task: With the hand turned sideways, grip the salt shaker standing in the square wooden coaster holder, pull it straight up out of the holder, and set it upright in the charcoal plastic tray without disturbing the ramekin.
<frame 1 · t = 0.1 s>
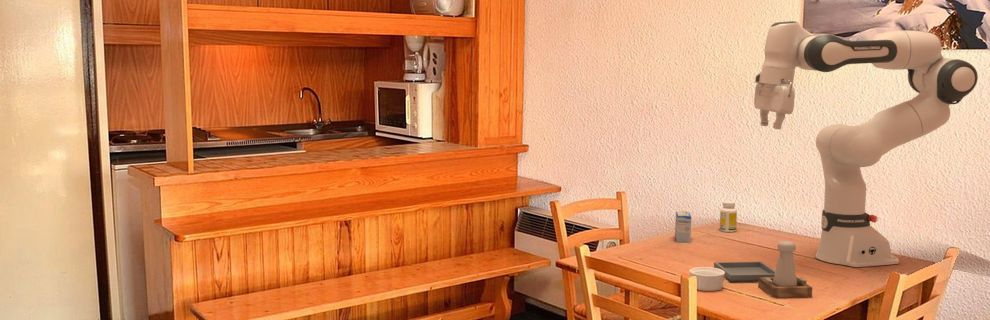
hand: (770, 127, 245), 39 cm above the table, tool pointing down, fingers open, 8 cm apart
square wooden coaster holder: (784, 291, 220), on the table
supplement bottle: (727, 231, 291), on the table
medicine box: (682, 240, 277), on the table
salt shaker: (784, 292, 220), resting in square wooden coaster holder
ramekin: (706, 288, 224), on the table
tray: (746, 275, 235), on the table
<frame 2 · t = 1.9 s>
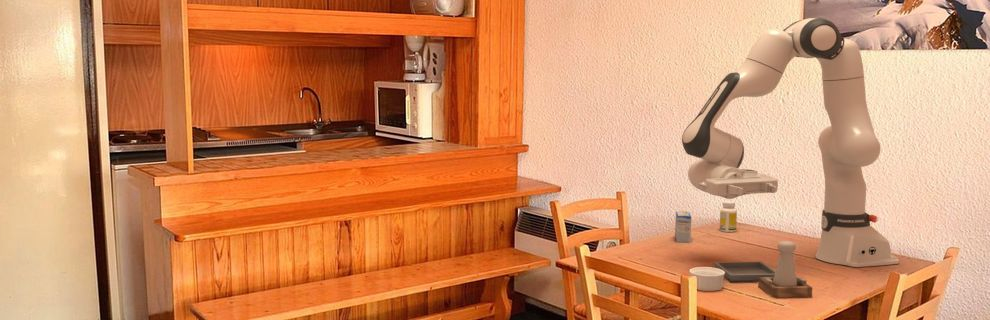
hand: (758, 190, 228), 24 cm above the table, tool horizontal, fingers open, 8 cm apart
nothing on the table moved.
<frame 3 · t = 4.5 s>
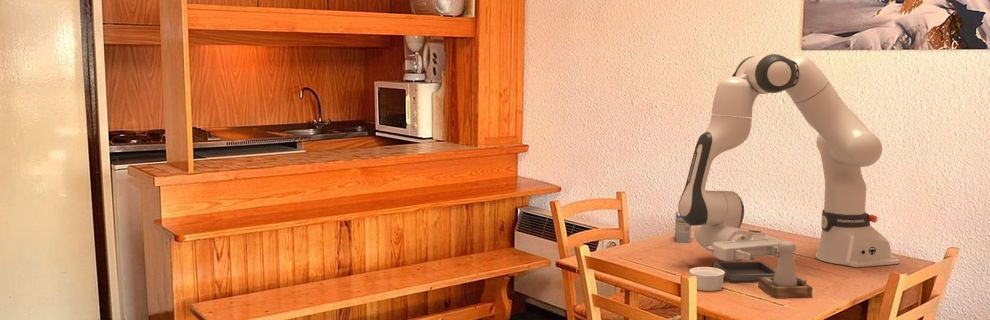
hand: (766, 256, 226), 7 cm above the table, tool horizontal, fingers open, 8 cm apart
nothing on the table moved.
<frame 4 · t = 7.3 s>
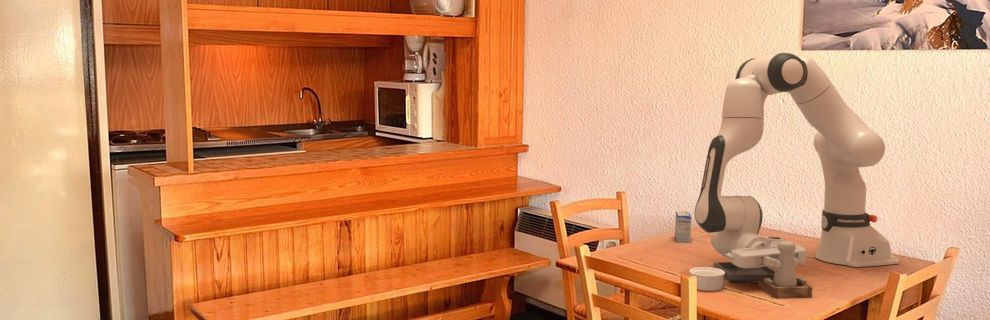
hand: (788, 263, 218), 8 cm above the table, tool horizontal, fingers closed on salt shaker, 3 cm apart
salt shaker: (784, 292, 220), resting in square wooden coaster holder, touching gripper
everything else where it was.
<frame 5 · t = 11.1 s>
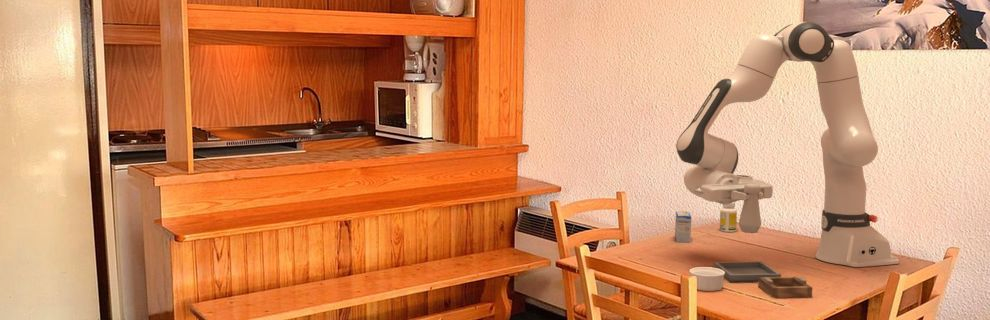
hand: (753, 196, 230), 22 cm above the table, tool horizontal, fingers closed on salt shaker, 3 cm apart
salt shaker: (749, 232, 233), point 12 cm above the table, touching gripper
everything else where it was.
when the fingers open (10 cm above the table, at t = 14.3 s): salt shaker stays where it is, resting on tray.
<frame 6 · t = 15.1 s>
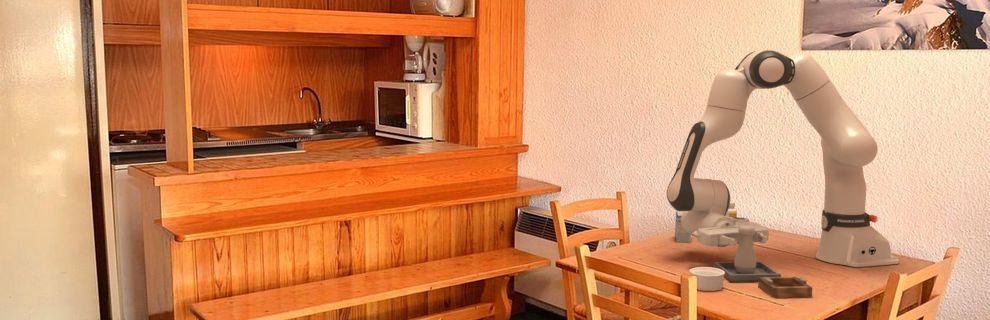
hand: (749, 241, 233), 10 cm above the table, tool horizontal, fingers open, 8 cm apart
salt shaker: (744, 273, 235), resting on tray
everything else where it was.
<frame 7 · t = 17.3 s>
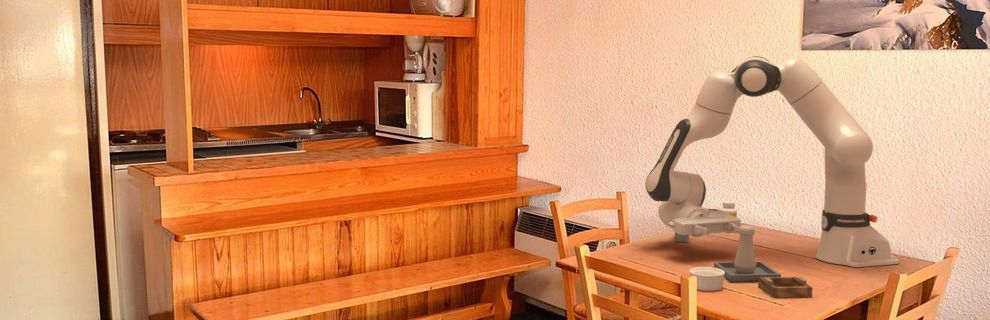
hand: (722, 230, 245), 10 cm above the table, tool horizontal, fingers open, 8 cm apart
medicine box: (681, 239, 277), on the table, touching arm
everything else where it was.
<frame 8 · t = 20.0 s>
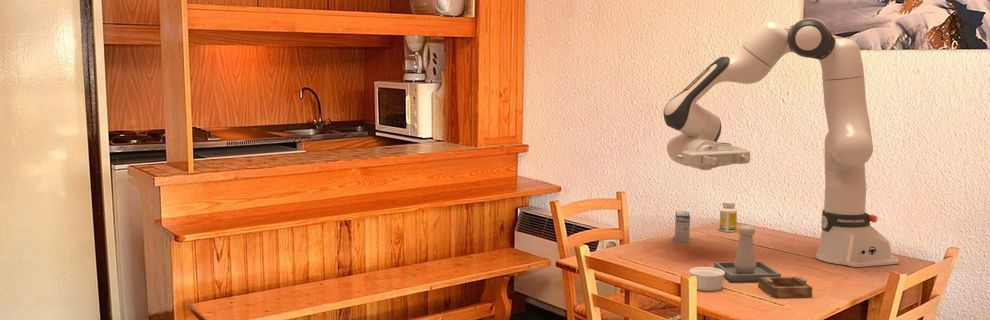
hand: (731, 161, 241), 30 cm above the table, tool horizontal, fingers open, 8 cm apart
medicine box: (681, 240, 278), on the table
everything else where it was.
at the end: salt shaker inside the target area on the tray (0.4 cm from its centre), point 0.4 cm above the tray's base; salt shaker tilted 0°; ramekin moved 0.4 cm from its start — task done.
